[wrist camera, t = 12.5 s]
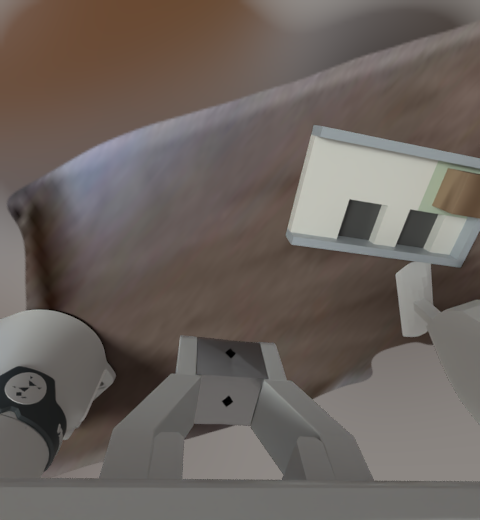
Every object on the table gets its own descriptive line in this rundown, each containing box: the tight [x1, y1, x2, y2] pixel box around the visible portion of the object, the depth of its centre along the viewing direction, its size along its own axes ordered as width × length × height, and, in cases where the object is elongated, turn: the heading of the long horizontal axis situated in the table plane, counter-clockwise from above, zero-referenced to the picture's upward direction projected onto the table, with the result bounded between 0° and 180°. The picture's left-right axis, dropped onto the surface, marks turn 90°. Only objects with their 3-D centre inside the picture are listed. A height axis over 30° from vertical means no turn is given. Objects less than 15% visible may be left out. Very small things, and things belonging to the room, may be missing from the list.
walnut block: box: [432, 168, 480, 219], centre depth 37 cm, size 4×4×4 cm
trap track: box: [286, 125, 480, 268], centre depth 38 cm, size 23×13×3 cm, turn 79°
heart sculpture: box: [395, 262, 480, 425], centre depth 39 cm, size 16×5×18 cm, turn 18°
